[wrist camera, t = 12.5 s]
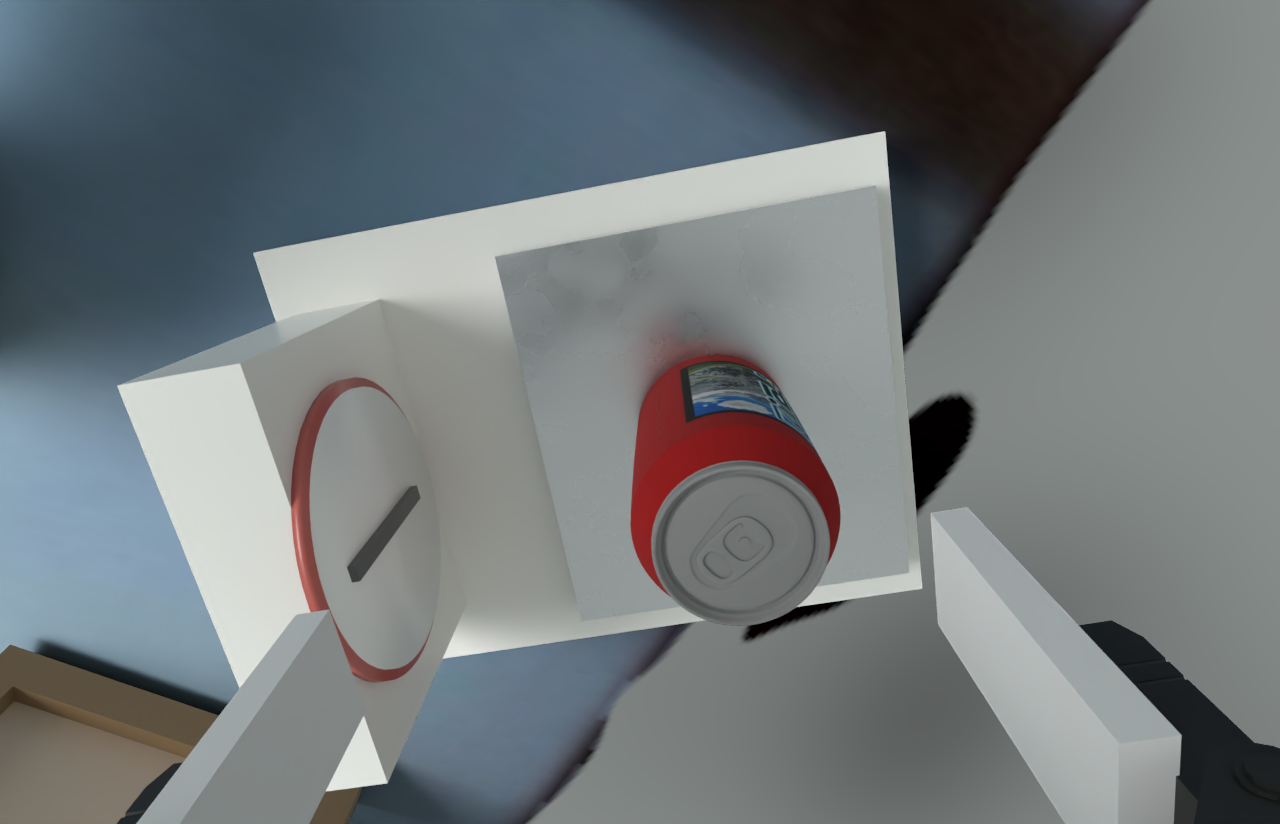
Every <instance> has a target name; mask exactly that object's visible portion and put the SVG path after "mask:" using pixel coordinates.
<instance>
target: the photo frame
mask: <svg viewBox="0 0 1280 824" xmlns="http://www.w3.org/2000/svg"><path fill="white" fill-rule="evenodd" d="M218 716H219V715H216V714H213V713H210V712H207V711H204V710H201V709H198V708H195V707H192V706H189V705H186V704H183V703H180V702H177V701H174V700H171V699H168V698H166V697H163V696H160V695H157V694H154V693H151V692H148V691H145V690H142V689H139V688H136V687H133V686H130V685H127V684H124V683H121V682H118V681H116V680H113V679H110V678H107V677H104V676H101V675H98V674H95V673H92V672H89V671H86V670H83V669H80V668H77V667H74V666H71V665H68V664H65V663H63V662H60V661H57V660H54V659H51V658H48V657H45V656H42V655H39V654H36V653H33V652H30V651H27V650H24V649H21V648H18V647H15V646H12V645H10V646H8V647H7V648H6V649H5V650H4V651H3V652H2V653H1V654H0V824H117V822H118V821H119V820H120V819H121V818H123V817H125V812H126V811H127V810H128V809H129V807H130V806H131V805H132V804H133V802H134V801H135V800H136V799H137V797H138V796H139V795H140V793H141V792H142V791H143V790H144V788H145V787H146V786H148V785H149V784H150V783H151V782H152V781H154V780H155V779H156V778H157V777H158V776H159V775H161V774H162V773H163V772H164V771H165V770H167V769H168V768H169V767H170V766H171V765H173V764H174V763H181V762H184V761H185V759H186V758H187V757H188V755H189V754H190V753H191V751H192V750H193V749H194V748H195V746H196V745H197V744H198V742H199V741H200V740H201V738H202V737H203V736H204V734H205V733H206V732H207V731H208V729H209V728H210V727H211V725H212V724H213V723H214V721H215V720H216V719H217V717H218ZM362 788H363V787H356V788H349V789H341V790H334V791H326V792H325V793H324V795H323V797H322V799H321V801H320V803H319V805H318V807H317V809H316V811H315V813H314V815H313V817H312V819H311V821H310V823H309V824H348V822H349V820H350V818H351V816H352V814H353V811H354V809H355V807H356V805H357V802H358V799H359V797H360V794H361V791H362Z"/></svg>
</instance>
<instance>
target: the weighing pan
mask: <svg viewBox="0 0 1280 824" xmlns="http://www.w3.org/2000/svg"><path fill="white" fill-rule="evenodd" d="M495 259H496V264H497V268H498V272H499V276H500V280H501V285H502V289H503V293H504V297H505V302H506V306H507V310H508V314H509V318H510V323H511V327H512V331H513V335H514V339H515V344H516V348H517V352H518V356H519V360H520V365H521V369H522V373H523V377H524V381H525V386H526V390H527V394H528V398H529V403H530V407H531V411H532V415H533V419H534V424H535V428H536V432H537V436H538V440H539V445H540V449H541V453H542V457H543V461H544V466H545V470H546V474H547V478H548V482H549V487H550V491H551V495H552V499H553V504H554V508H555V512H556V516H557V520H558V525H559V529H560V533H561V537H562V541H563V546H564V550H565V554H566V558H567V562H568V567H569V571H570V575H571V579H572V583H573V588H574V592H575V596H576V600H577V605H578V609H579V613H580V617H581V621H588V620H595V619H601V618H608V617H615V616H622V615H628V614H635V613H642V612H649V611H655V610H662V609H669V608H676V607H681V606H680V605H678V604H677V603H676V602H675V601H674V600H673V599H672V598H671V597H670V596H669V595H667V594H666V593H665V592H664V591H662V590H661V589H660V588H659V587H658V586H657V585H656V584H655V583H654V581H653V580H652V579H651V578H650V577H649V575H648V574H647V573H646V571H645V570H644V568H643V566H642V565H641V563H640V561H639V559H638V557H637V554H636V551H635V549H634V545H633V541H632V536H631V525H630V522H631V499H632V482H633V467H634V456H635V445H636V436H637V427H638V419H639V413H640V409H641V406H642V403H643V401H644V399H645V397H646V395H647V393H648V391H649V390H650V388H651V387H652V385H653V384H654V383H655V382H656V381H657V380H658V378H659V377H661V376H662V375H663V374H664V373H665V372H666V371H668V370H669V369H670V368H672V367H674V366H675V365H677V364H679V363H681V362H683V361H685V360H688V359H691V358H694V357H698V356H704V355H728V356H733V357H737V358H740V359H743V360H746V361H748V362H750V363H752V364H754V365H756V366H757V367H759V368H760V369H762V370H763V371H764V372H766V373H767V374H768V375H769V376H770V377H771V378H772V379H773V380H774V381H775V383H776V384H777V385H778V387H779V388H780V390H781V392H782V393H783V395H784V396H785V398H786V399H787V401H788V403H789V404H790V406H791V407H792V409H793V411H794V413H795V414H796V416H797V418H798V419H799V421H800V423H801V424H802V426H803V428H804V429H805V431H806V433H807V435H808V437H809V438H810V440H811V442H812V444H813V445H814V447H815V449H816V451H817V453H818V454H819V456H820V458H821V460H822V462H823V464H824V466H825V467H826V469H827V471H828V473H829V475H830V477H831V479H832V481H833V483H834V486H835V488H836V491H837V495H838V498H839V504H840V514H841V519H840V531H839V536H838V540H837V544H836V547H835V550H834V552H833V555H832V557H831V559H830V561H829V563H828V565H827V566H826V569H825V571H824V574H823V576H822V578H821V580H820V582H819V583H818V585H817V586H816V587H818V586H825V585H832V584H838V583H845V582H852V581H859V580H865V579H872V578H879V577H886V576H892V575H899V574H906V573H909V562H908V550H907V539H906V527H905V516H904V504H903V493H902V481H901V470H900V458H899V446H898V435H897V423H896V412H895V400H894V389H893V377H892V366H891V354H890V343H889V331H888V319H887V308H886V296H885V285H884V273H883V262H882V250H881V239H880V227H879V216H878V204H877V192H876V186H875V185H866V186H860V187H855V188H849V189H844V190H839V191H833V192H828V193H823V194H817V195H812V196H807V197H801V198H796V199H791V200H785V201H780V202H775V203H769V204H764V205H759V206H753V207H748V208H743V209H737V210H732V211H727V212H721V213H716V214H711V215H705V216H700V217H695V218H689V219H684V220H678V221H673V222H668V223H662V224H657V225H652V226H646V227H641V228H636V229H630V230H625V231H620V232H614V233H609V234H604V235H598V236H593V237H588V238H582V239H577V240H572V241H566V242H561V243H556V244H550V245H545V246H540V247H534V248H529V249H523V250H518V251H513V252H507V253H502V254H499V255H497V256H495Z"/></svg>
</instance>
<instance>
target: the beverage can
mask: <svg viewBox="0 0 1280 824" xmlns="http://www.w3.org/2000/svg"><path fill="white" fill-rule="evenodd" d="M840 519H841V514H840V504H839V498H838V495H837V491H836V488H835V486H834V483H833V481H832V479H831V477H830V475H829V473H828V471H827V469H826V467H825V466H824V464H823V462H822V460H821V458H820V456H819V454H818V453H817V451H816V449H815V447H814V445H813V444H812V442H811V440H810V438H809V437H808V435H807V433H806V431H805V429H804V428H803V426H802V424H801V423H800V421H799V419H798V418H797V416H796V414H795V413H794V411H793V409H792V407H791V406H790V404H789V403H788V401H787V399H786V398H785V396H784V395H783V393H782V392H781V390H780V388H779V387H778V385H777V384H776V383H775V381H774V380H773V379H772V378H771V377H770V376H769V375H768V374H767V373H766V372H764V371H763V370H762V369H760V368H759V367H757V366H756V365H754V364H752V363H750V362H748V361H746V360H743V359H740V358H737V357H733V356H728V355H704V356H698V357H694V358H691V359H688V360H685V361H683V362H681V363H679V364H677V365H675V366H674V367H672V368H670V369H669V370H668V371H666V372H665V373H664V374H663V375H662V376H661V377H659V378H658V380H657V381H656V382H655V383H654V384H653V385H652V387H651V388H650V390H649V391H648V393H647V395H646V397H645V399H644V401H643V403H642V406H641V409H640V413H639V419H638V427H637V436H636V445H635V456H634V467H633V482H632V499H631V522H630V525H631V536H632V541H633V545H634V549H635V551H636V554H637V557H638V559H639V561H640V563H641V565H642V566H643V568H644V570H645V571H646V573H647V574H648V575H649V577H650V578H651V579H652V580H653V581H654V583H655V584H656V585H657V586H658V587H659V588H660V589H661V590H662V591H664V592H665V593H666V594H667V595H669V596H670V597H671V598H672V599H673V600H674V601H675V602H676V603H677V604H678V605H680V606H681V607H682V608H684V609H685V610H687V611H688V612H690V613H691V614H693V615H695V616H697V617H699V618H702V619H704V620H707V621H710V622H714V623H717V624H723V625H731V626H745V625H754V624H759V623H763V622H767V621H770V620H773V619H776V618H778V617H780V616H782V615H784V614H786V613H788V612H790V611H791V610H793V609H794V608H796V607H797V606H798V605H799V604H801V603H802V602H803V601H804V600H805V599H806V598H807V597H808V596H809V595H810V594H811V593H812V592H813V590H814V589H815V587H816V586H817V585H818V583H819V582H820V580H821V578H822V576H823V574H824V571H825V569H826V566H827V565H828V563H829V561H830V559H831V557H832V555H833V552H834V550H835V547H836V544H837V540H838V536H839V531H840Z"/></svg>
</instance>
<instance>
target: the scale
mask: <svg viewBox="0 0 1280 824" xmlns="http://www.w3.org/2000/svg"><path fill="white" fill-rule="evenodd" d="M866 185H875V186H876V192H877V204H878V216H879V227H880V239H881V250H882V262H883V273H884V285H885V296H886V308H887V319H888V331H889V343H890V354H891V366H892V377H893V389H894V400H895V412H896V423H897V435H898V446H899V458H900V470H901V481H902V493H903V504H904V516H905V527H906V539H907V550H908V562H909V573H906V574H899V575H892V576H886V577H879V578H872V579H865V580H859V581H852V582H845V583H838V584H832V585H825V586H818V587H815V589H814V590H813V592H812V593H811V594H810V595H809V596H808V597H807V598H806V599H805V600H804V601H803V602H802V603H801V604H799V605H798V606H797V607H800V606H807V605H814V604H820V603H827V602H834V601H841V600H848V599H855V598H861V597H868V596H875V595H882V594H889V593H895V592H903V591H909V590H916V589H922V577H921V565H920V552H919V541H918V528H917V516H916V503H915V491H914V479H913V466H912V454H911V442H910V430H909V417H908V406H907V393H906V380H905V368H904V356H903V344H902V331H901V319H900V307H899V294H898V282H897V270H896V258H895V245H894V233H893V221H892V209H891V196H890V184H889V172H888V159H887V147H886V135H885V131H884V132H878V133H872V134H866V135H860V136H855V137H850V138H845V139H839V140H834V141H829V142H824V143H819V144H813V145H808V146H803V147H798V148H793V149H787V150H782V151H777V152H772V153H767V154H761V155H756V156H751V157H746V158H741V159H735V160H730V161H725V162H720V163H715V164H709V165H704V166H699V167H694V168H688V169H683V170H678V171H673V172H668V173H662V174H657V175H652V176H647V177H642V178H636V179H631V180H626V181H621V182H616V183H610V184H605V185H600V186H595V187H590V188H584V189H579V190H574V191H569V192H564V193H558V194H553V195H548V196H543V197H538V198H532V199H527V200H522V201H517V202H512V203H506V204H501V205H496V206H491V207H486V208H480V209H475V210H470V211H465V212H460V213H454V214H449V215H444V216H439V217H434V218H428V219H423V220H418V221H413V222H408V223H402V224H397V225H392V226H387V227H382V228H376V229H371V230H366V231H361V232H356V233H350V234H345V235H340V236H335V237H330V238H324V239H319V240H314V241H309V242H304V243H298V244H293V245H288V246H283V247H279V248H274V249H269V250H264V251H259V252H254V253H253V254H254V257H255V260H256V264H257V267H258V270H259V273H260V276H261V279H262V282H263V285H264V288H265V291H266V294H267V297H268V300H269V303H270V306H271V309H272V312H273V315H274V318H275V321H276V322H275V323H273V324H270V325H268V326H265V327H263V328H260V329H258V330H255V331H252V332H250V333H247V334H245V335H242V336H240V337H237V338H235V339H232V340H230V341H227V342H225V343H222V344H220V345H217V346H215V347H212V348H210V349H207V350H205V351H202V352H200V353H197V354H195V355H192V356H190V357H187V358H185V359H182V360H180V361H177V362H175V363H172V364H170V365H167V366H165V367H162V368H160V369H157V370H155V371H152V372H150V373H147V374H145V375H142V376H140V377H137V378H135V379H132V380H130V381H127V382H125V383H122V384H120V385H117V387H118V390H119V392H120V395H121V397H122V399H123V402H124V404H125V407H126V409H127V412H128V414H129V417H130V419H131V422H132V424H133V427H134V429H135V432H136V434H137V436H138V439H139V441H140V444H141V446H142V449H143V451H144V454H145V456H146V459H147V461H148V464H149V466H150V469H151V471H152V473H153V476H154V478H155V481H156V483H157V486H158V488H159V491H160V493H161V496H162V498H163V501H164V503H165V506H166V508H167V510H168V513H169V515H170V518H171V520H172V523H173V525H174V528H175V530H176V533H177V535H178V538H179V540H180V543H181V545H182V547H183V550H184V552H185V555H186V557H187V560H188V562H189V565H190V567H191V570H192V572H193V575H194V577H195V580H196V582H197V584H198V587H199V589H200V592H201V594H202V597H203V599H204V602H205V604H206V607H207V609H208V612H209V614H210V617H211V619H212V621H213V624H214V626H215V629H216V631H217V634H218V636H219V639H220V641H221V644H222V646H223V649H224V651H225V654H226V656H227V658H228V661H229V663H230V666H231V668H232V671H233V673H234V676H235V678H236V681H237V683H238V686H239V688H240V687H241V686H242V685H243V683H244V682H245V681H246V679H247V678H248V677H249V676H250V674H251V673H252V672H253V670H254V669H255V668H256V666H257V665H258V664H259V662H260V661H261V660H262V659H263V657H264V656H265V655H266V653H267V652H268V651H269V649H270V648H271V647H272V645H273V644H274V643H275V642H276V640H277V639H278V638H279V636H280V635H281V634H282V632H283V631H284V630H285V628H286V627H287V626H288V624H289V623H290V622H291V621H292V619H293V618H294V617H295V615H298V614H304V613H310V612H316V611H323V610H330V613H331V616H332V619H333V621H334V624H335V627H336V630H337V632H338V635H339V638H340V641H341V644H342V646H343V649H344V652H345V655H346V658H347V660H348V663H349V666H350V669H351V671H352V674H353V677H354V680H355V683H356V685H357V688H358V691H359V694H360V696H361V699H362V702H363V705H364V708H365V710H366V712H365V714H364V716H363V718H362V720H361V722H360V724H359V726H358V728H357V730H356V732H355V734H354V736H353V738H352V740H351V742H350V744H349V746H348V748H347V750H346V752H345V754H344V756H343V758H342V760H341V762H340V764H339V766H338V768H337V770H336V772H335V774H334V776H333V778H332V780H331V782H330V784H329V786H328V788H327V790H326V791H334V790H341V789H349V788H356V787H364V786H371V785H379V784H386V783H388V781H389V779H390V777H391V775H392V772H393V770H394V768H395V766H396V763H397V761H398V759H399V756H400V754H401V752H402V750H403V747H404V745H405V743H406V741H407V738H408V736H409V734H410V732H411V729H412V727H413V725H414V722H415V720H416V718H417V716H418V713H419V711H420V709H421V707H422V704H423V702H424V700H425V698H426V695H427V693H428V691H429V688H430V686H431V684H432V682H433V679H434V677H435V675H436V673H437V670H438V668H439V666H440V663H441V661H442V659H444V658H450V657H457V656H464V655H471V654H478V653H485V652H491V651H498V650H505V649H512V648H519V647H526V646H533V645H539V644H546V643H553V642H560V641H567V640H574V639H581V638H587V637H594V636H601V635H608V634H615V633H622V632H629V631H635V630H642V629H649V628H656V627H663V626H670V625H677V624H683V623H690V622H697V621H704V619H702V618H699V617H697V616H695V615H693V614H691V613H690V612H688V611H687V610H685V609H684V608H682V607H676V608H669V609H662V610H655V611H649V612H642V613H635V614H628V615H622V616H615V617H608V618H601V619H595V620H588V621H581V617H580V613H579V609H578V605H577V600H576V596H575V592H574V588H573V583H572V579H571V575H570V571H569V567H568V562H567V558H566V554H565V550H564V546H563V541H562V537H561V533H560V529H559V525H558V520H557V516H556V512H555V508H554V504H553V499H552V495H551V491H550V487H549V482H548V478H547V474H546V470H545V466H544V461H543V457H542V453H541V449H540V445H539V440H538V436H537V432H536V428H535V424H534V419H533V415H532V411H531V407H530V403H529V398H528V394H527V390H526V386H525V381H524V377H523V373H522V369H521V365H520V360H519V356H518V352H517V348H516V344H515V339H514V335H513V331H512V327H511V323H510V318H509V314H508V310H507V306H506V302H505V297H504V293H503V289H502V285H501V280H500V276H499V272H498V268H497V264H496V259H495V256H497V255H499V254H502V253H507V252H513V251H518V250H523V249H529V248H534V247H540V246H545V245H550V244H556V243H561V242H566V241H572V240H577V239H582V238H588V237H593V236H598V235H604V234H609V233H614V232H620V231H625V230H630V229H636V228H641V227H646V226H652V225H657V224H662V223H668V222H673V221H678V220H684V219H689V218H695V217H700V216H705V215H711V214H716V213H721V212H727V211H732V210H737V209H743V208H748V207H753V206H759V205H764V204H769V203H775V202H780V201H785V200H791V199H796V198H801V197H807V196H812V195H817V194H823V193H828V192H833V191H839V190H844V189H849V188H855V187H860V186H866Z"/></svg>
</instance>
